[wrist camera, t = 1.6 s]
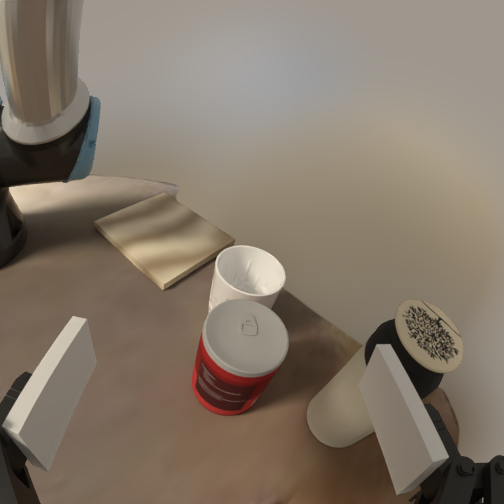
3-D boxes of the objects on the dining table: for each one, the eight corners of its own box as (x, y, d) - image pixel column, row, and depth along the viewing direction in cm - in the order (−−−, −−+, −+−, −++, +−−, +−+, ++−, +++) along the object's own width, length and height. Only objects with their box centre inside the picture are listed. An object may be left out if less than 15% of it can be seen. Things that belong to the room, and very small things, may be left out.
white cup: (263, 308, 43) (286, 255, 37) (259, 354, 37) (285, 303, 31) (209, 294, 43) (222, 238, 36) (197, 339, 36) (208, 284, 30)
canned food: (248, 354, 37) (275, 296, 30) (265, 412, 31) (302, 367, 24) (186, 358, 34) (196, 298, 27) (197, 421, 28) (212, 378, 21)
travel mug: (331, 460, 27) (445, 391, 16) (292, 409, 32) (377, 314, 21) (374, 425, 32) (476, 344, 21) (338, 380, 36) (421, 285, 25)
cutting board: (94, 227, 47) (94, 221, 46) (163, 197, 58) (164, 192, 57) (163, 290, 41) (163, 284, 40) (233, 244, 52) (235, 239, 52)
